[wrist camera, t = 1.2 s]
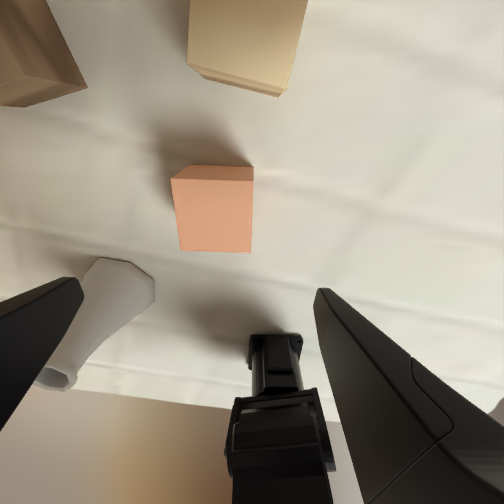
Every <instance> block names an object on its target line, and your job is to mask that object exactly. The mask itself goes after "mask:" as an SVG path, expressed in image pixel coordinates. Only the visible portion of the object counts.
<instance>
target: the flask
mask: <svg viewBox="0 0 504 504" xmlns="http://www.w3.org/2000/svg"><path fill="white" fill-rule="evenodd" d="M80 285H81V287H82V290H83V292H84V301H83V303H82V304H81V306H80V308H79V310H78V312H77V314H76V316H75V317H74V319H73V321H72V323H71V325H70V327H69V329H68V330H67V332H66V334H65V336H64V337H63V339H62V341H61V342H60V344H59V345H58V347H57V348H56V350H55V351H54V353H53V354H52V356H51V357H50V359H49V360H48V362H47V363H46V364H45V366H44V367H43V369H42V370H41V372H40V373H39V375H38V376H37V378H36V379H35V381H34V382H33V384H34V385H37V386H39V387H41V388H44V389H46V390H54V391H63V392H66V391H67V390H68V389H69V388H71V387H72V386H73V385H74V384H75V383H76V381H77V379H78V377H77V373H78V371H79V369H80V368H81V367H82V365H83V364H84V363H85V361H86V360H87V358H88V357H89V356H90V355H91V354H92V353H93V352H94V351H95V350H96V349H97V348H98V347H99V346H100V345H101V344H102V342H103V341H104V340H106V339H107V338H108V337H109V336H111V335H112V334H113V333H114V332H116V331H117V330H118V329H119V328H121V327H122V326H123V325H125V324H126V323H127V322H129V321H130V320H131V319H133V318H134V317H135V316H137V315H138V314H139V313H140V312H142V311H143V310H144V309H145V308H146V307H148V306H149V305H150V304H151V303H152V302H154V280H153V279H151V278H150V277H149V276H147V275H146V274H145V273H143V272H142V271H141V270H139V269H138V268H136V267H135V266H134V265H132V264H131V263H128V262H122V261H116V260H110V259H104V258H99V259H98V260H97V261H96V262H95V263H94V264H93V265H92V266H91V268H90V269H89V270H88V271H87V272H86V273H85V274H84V277H83V279H82V282H81V284H80Z"/></svg>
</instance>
